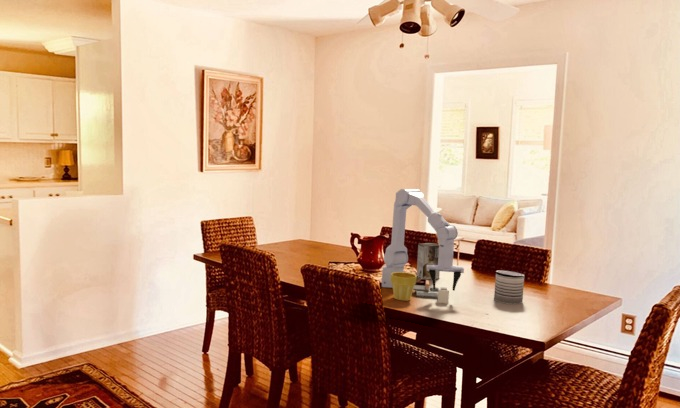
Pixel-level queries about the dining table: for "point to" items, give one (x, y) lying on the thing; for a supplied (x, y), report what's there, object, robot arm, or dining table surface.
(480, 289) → the dining table surface
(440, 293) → the plug
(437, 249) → the coffee box
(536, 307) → the dining table surface
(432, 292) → the socket plate
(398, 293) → the plant pot
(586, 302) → the dining table surface
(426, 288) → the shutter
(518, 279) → the can
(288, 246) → the dining table surface
